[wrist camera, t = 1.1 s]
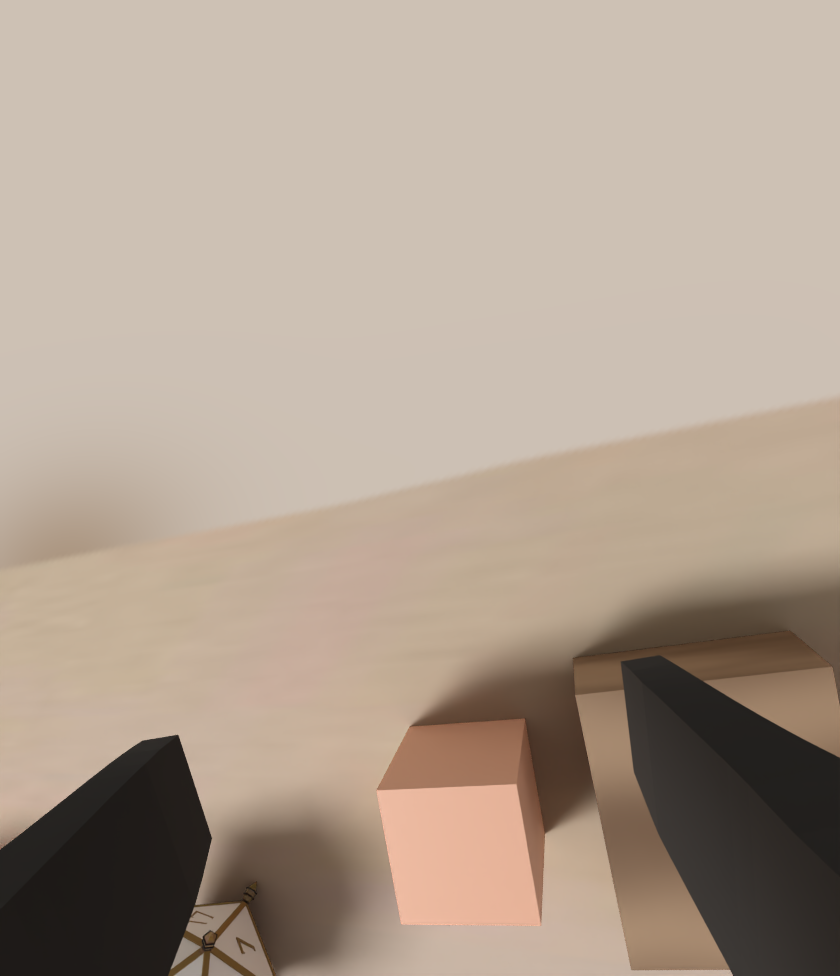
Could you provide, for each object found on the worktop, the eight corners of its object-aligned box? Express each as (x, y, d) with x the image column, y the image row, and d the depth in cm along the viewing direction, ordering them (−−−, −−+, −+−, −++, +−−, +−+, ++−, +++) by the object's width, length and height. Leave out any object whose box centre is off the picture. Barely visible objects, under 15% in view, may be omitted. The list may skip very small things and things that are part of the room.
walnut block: (834, 880, 23) (889, 968, 20) (620, 888, 25) (631, 970, 21) (786, 627, 23) (832, 666, 19) (572, 654, 25) (575, 695, 21)
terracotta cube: (544, 832, 26) (541, 925, 21) (430, 835, 27) (401, 924, 22) (525, 717, 25) (516, 784, 21) (410, 725, 27) (376, 790, 22)
